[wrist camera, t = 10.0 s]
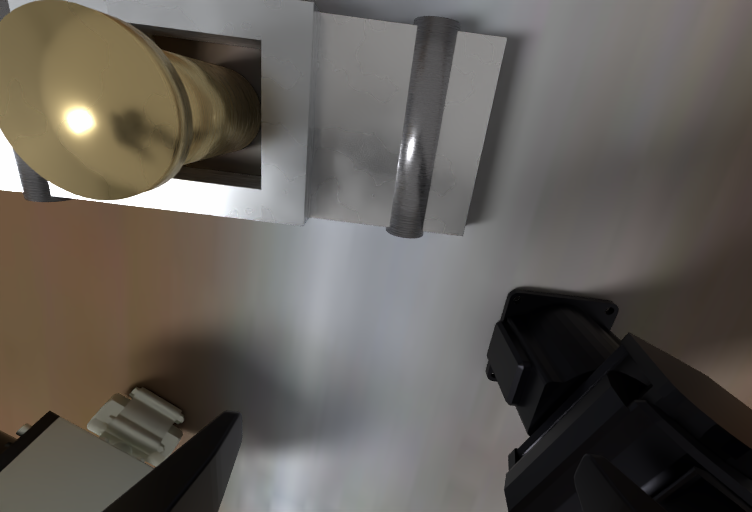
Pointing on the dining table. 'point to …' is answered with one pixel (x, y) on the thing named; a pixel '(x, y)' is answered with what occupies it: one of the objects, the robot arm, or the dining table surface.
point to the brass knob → (112, 102)
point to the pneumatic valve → (86, 455)
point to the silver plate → (327, 116)
